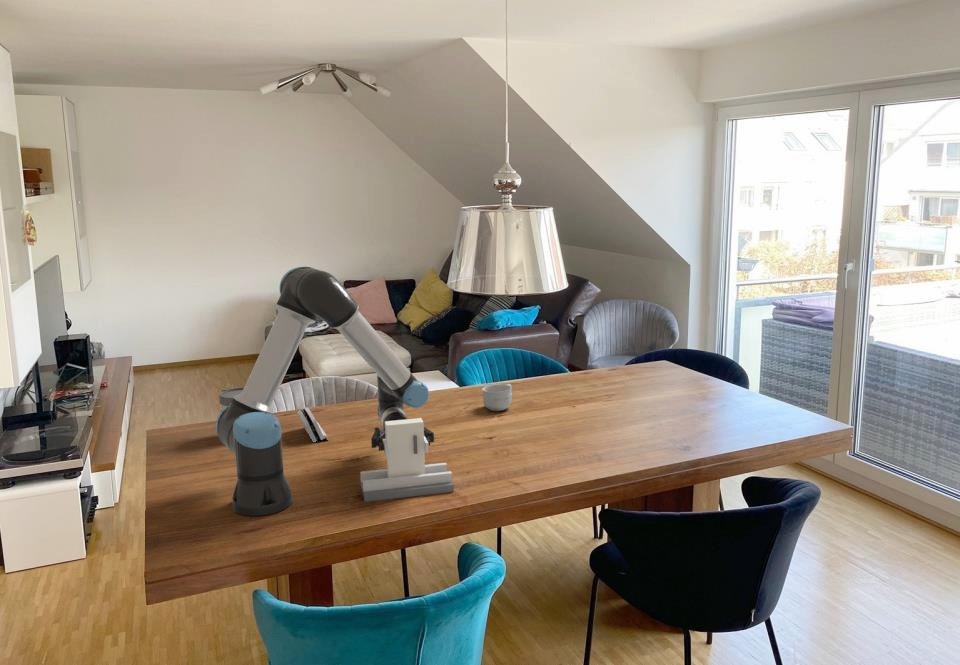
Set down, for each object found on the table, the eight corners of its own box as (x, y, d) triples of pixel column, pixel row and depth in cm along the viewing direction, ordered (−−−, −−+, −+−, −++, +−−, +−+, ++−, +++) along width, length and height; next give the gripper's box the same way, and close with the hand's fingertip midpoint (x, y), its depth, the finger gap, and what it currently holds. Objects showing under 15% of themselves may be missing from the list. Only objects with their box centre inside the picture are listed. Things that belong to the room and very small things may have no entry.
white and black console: (329, 441, 247) (317, 414, 244) (315, 447, 246) (303, 421, 243) (319, 425, 262) (307, 400, 259) (306, 431, 261) (294, 406, 258)
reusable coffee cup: (221, 444, 245) (217, 399, 242) (223, 432, 257) (219, 389, 254) (262, 440, 249) (259, 396, 246) (261, 428, 260) (258, 385, 257)
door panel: (389, 483, 206) (386, 426, 203) (387, 477, 210) (384, 421, 207) (425, 479, 208) (424, 422, 205) (423, 473, 212) (421, 418, 209)
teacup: (495, 415, 271) (495, 393, 270) (476, 408, 279) (475, 387, 278) (524, 407, 280) (524, 386, 278) (504, 400, 288) (504, 380, 286)
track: (364, 501, 202) (364, 485, 201) (360, 484, 213) (359, 468, 212) (453, 491, 207) (453, 476, 206) (444, 474, 219) (444, 460, 218)
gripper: (433, 432, 228) (449, 458, 207) (357, 439, 223) (365, 467, 202) (433, 408, 226) (448, 432, 205) (356, 414, 221) (364, 440, 200)
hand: (407, 449), depth 203 cm, fingers closed on door panel, 10 cm apart
